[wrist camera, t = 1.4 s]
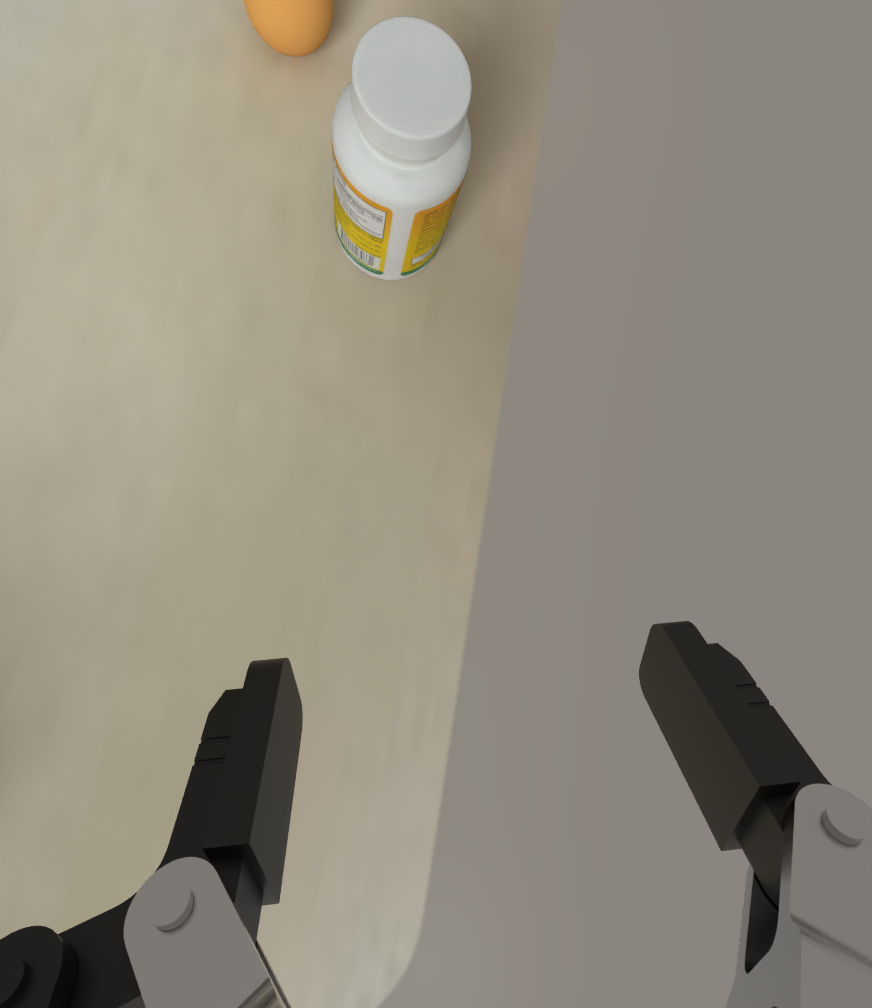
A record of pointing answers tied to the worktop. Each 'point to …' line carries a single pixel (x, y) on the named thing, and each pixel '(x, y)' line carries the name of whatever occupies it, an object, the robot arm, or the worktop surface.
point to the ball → (291, 23)
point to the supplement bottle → (400, 146)
